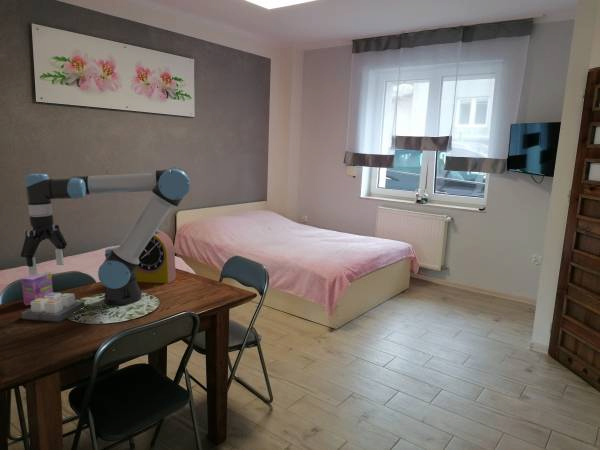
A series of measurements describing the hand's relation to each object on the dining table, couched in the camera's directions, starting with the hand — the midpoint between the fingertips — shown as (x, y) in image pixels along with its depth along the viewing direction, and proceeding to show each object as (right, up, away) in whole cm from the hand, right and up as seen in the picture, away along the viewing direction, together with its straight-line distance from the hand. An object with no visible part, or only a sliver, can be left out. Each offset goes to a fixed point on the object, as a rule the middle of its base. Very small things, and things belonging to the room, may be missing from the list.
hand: (47, 269), depth 166 cm
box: (-15, -16, +19) cm, 29 cm away
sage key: (+3, -15, +9) cm, 18 cm away
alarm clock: (+23, -10, +51) cm, 57 cm away
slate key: (-3, -15, +10) cm, 18 cm away
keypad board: (-1, -18, +6) cm, 19 cm away
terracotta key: (+1, -16, +2) cm, 17 cm away
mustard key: (-4, -16, +3) cm, 17 cm away
